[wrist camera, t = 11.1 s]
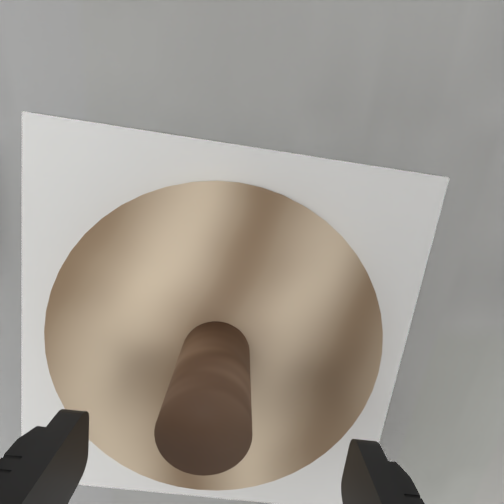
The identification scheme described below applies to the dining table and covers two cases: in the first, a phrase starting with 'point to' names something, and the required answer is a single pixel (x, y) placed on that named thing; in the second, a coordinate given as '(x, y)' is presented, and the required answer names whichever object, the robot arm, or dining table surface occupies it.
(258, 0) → the dining table surface
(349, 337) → the lid
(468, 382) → the dining table surface
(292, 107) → the dining table surface
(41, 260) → the mat
